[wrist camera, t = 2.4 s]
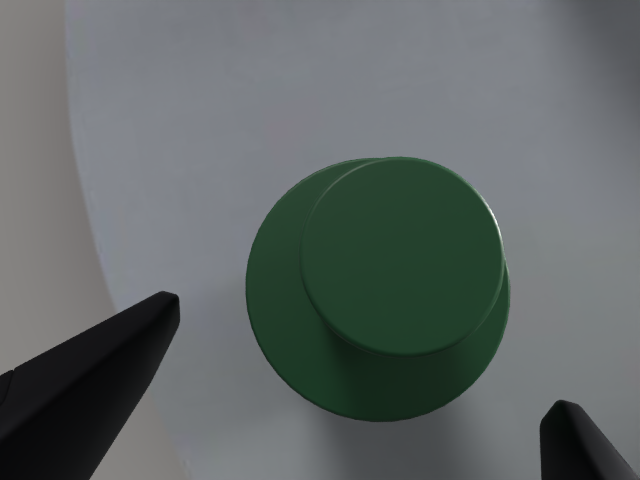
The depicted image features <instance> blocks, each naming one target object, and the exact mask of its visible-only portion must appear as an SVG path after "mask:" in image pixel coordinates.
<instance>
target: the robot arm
mask: <svg viewBox="0 0 640 480" xmlns="http://www.w3.org/2000/svg"><path fill="white" fill-rule="evenodd" d="M179 323H180V305H179V297H178V295H176V294H173V293H169V292H165V291H161V292H158V293H156V294H154V295H152V296H150V297H149V298H147V299H145V300H143V301H141V302H139V303H137V304H135V305H133V306H131V307H130V308H128V309H126V310H124V311H122V312H120V313H118V314H116V315H114V316H113V317H111V318H109V319H107V320H105V321H103V322H101V323H100V324H97V325H95V326H94V327H92V328H90V329H88V330H86V331H84V332H82V333H80V334H79V335H76V336H75V337H73V338H71V339H69V340H67V341H65V342H63V343H61V344H59V345H57V346H56V347H54V348H52V349H50V350H48V351H46V352H44V353H42V354H40V355H38V356H37V357H35V358H33V359H31V360H29V361H27V362H25V363H23V364H22V365H20V366H18V367H16V368H15V369H14V371H13V370H10V371H8V372H6V373H4V374H2V375H1V376H0V480H89V479H90V477H91V476H92V475H93V473H94V471H95V470H96V468H97V467H98V465H99V464H100V462H101V460H102V459H103V457H104V456H105V454H106V453H107V451H108V449H109V448H110V446H111V445H112V443H113V442H114V440H115V438H116V437H117V435H118V434H119V432H120V431H121V429H122V427H123V426H124V424H125V423H126V421H127V419H128V418H129V416H130V415H131V413H132V412H133V410H134V409H135V407H136V405H137V404H138V402H139V401H140V399H141V398H142V396H143V394H144V393H145V391H146V390H147V388H148V386H149V385H150V383H151V381H152V379H153V377H154V375H155V373H156V371H157V369H158V367H159V365H160V363H161V361H162V359H163V357H164V355H165V353H166V351H167V349H168V347H169V345H170V343H171V341H172V339H173V337H174V335H175V333H176V331H177V329H178V326H179ZM540 453H541V478H542V480H640V478H639V477H638V476H637V475H636V473H635V472H634V471H633V470H632V468H631V467H630V466H629V465H628V464H627V462H626V461H625V460H624V459H623V457H622V456H621V455H620V454H619V453H618V451H617V450H616V449H615V448H614V446H613V445H612V444H611V443H610V442H609V440H608V439H607V438H606V437H605V435H604V434H603V433H602V432H601V431H600V429H599V428H598V427H597V426H596V424H595V423H594V422H593V421H592V419H591V418H590V417H589V416H588V415H587V413H586V412H585V411H584V410H583V409H582V407H581V406H579V405H578V404H575V403H572V402H568V401H564V400H558V401H556V402H555V404H554V405H553V406H552V407H551V409H550V410H549V411H548V412H547V414H546V415H545V416H544V418H543V419H542V421H541V424H540Z"/></svg>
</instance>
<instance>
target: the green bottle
mask: <svg viewBox="0 0 640 480" xmlns="http://www.w3.org/2000/svg"><path fill="white" fill-rule="evenodd" d="M246 302H247V311H248V315H249V319H250V323H251V327H252V330H253V332H254V335H255V337H256V340H257V342H258V345H259V347H260V348H261V350H262V352H263V354H264V356H265V357H266V359H267V361H268V362H269V363H270V365H271V366H272V367H273V369H274V370H275V371H276V373H277V374H278V375H279V376H280V377H281V378H282V379H283V380H284V381H285V382H286V383H287V384H288V385H289V386H290V387H291V388H292V389H293V390H294V391H296V392H297V393H298V394H300V395H301V396H302V397H303V398H305V399H306V400H308V401H310V402H311V403H313V404H315V405H317V406H318V407H320V408H322V409H324V410H327V411H329V412H332V413H334V414H336V415H340V416H343V417H347V418H351V419H355V420H362V421H370V422H393V421H399V420H406V419H411V418H415V417H418V416H421V415H424V414H428V413H430V412H432V411H434V410H436V409H438V408H441V407H443V406H445V405H446V404H448V403H449V402H451V401H452V400H454V399H455V398H457V397H459V396H460V395H461V394H462V393H463V392H464V391H466V390H467V389H468V388H469V387H470V386H471V385H473V383H474V382H475V381H476V380H477V379H478V378H479V377H480V375H481V374H482V373H483V372H484V371H485V369H486V368H487V366H488V365H489V363H490V362H491V360H492V358H493V357H494V355H495V353H496V351H497V349H498V347H499V344H500V342H501V340H502V337H503V334H504V331H505V327H506V324H507V320H508V313H509V307H510V280H509V271H508V266H507V262H506V258H505V254H504V245H503V240H502V236H501V232H500V229H499V226H498V224H497V221H496V219H495V216H494V215H493V213H492V211H491V209H490V207H489V206H488V204H487V203H486V201H485V200H484V199H483V197H482V196H481V195H480V194H479V193H478V192H477V190H476V189H475V188H474V187H473V186H472V185H471V184H469V183H468V182H467V181H466V180H465V179H463V178H462V177H461V176H459V175H458V174H456V173H454V172H453V171H451V170H449V169H447V168H445V167H443V166H441V165H439V164H436V163H433V162H430V161H427V160H422V159H418V158H411V157H386V158H365V159H356V160H350V161H345V162H341V163H338V164H335V165H331V166H329V167H326V168H324V169H322V170H319V171H317V172H315V173H313V174H312V175H310V176H308V177H306V178H305V179H303V180H301V181H300V182H299V183H298V184H296V185H295V186H294V187H292V188H291V189H290V190H289V191H288V192H287V193H286V194H285V195H284V196H283V197H282V198H281V199H280V200H279V201H278V202H277V203H276V204H275V205H274V207H273V208H272V209H271V211H270V212H269V213H268V215H267V216H266V218H265V220H264V221H263V223H262V225H261V226H260V228H259V230H258V233H257V235H256V237H255V240H254V242H253V244H252V248H251V252H250V255H249V259H248V265H247V272H246Z"/></svg>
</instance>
